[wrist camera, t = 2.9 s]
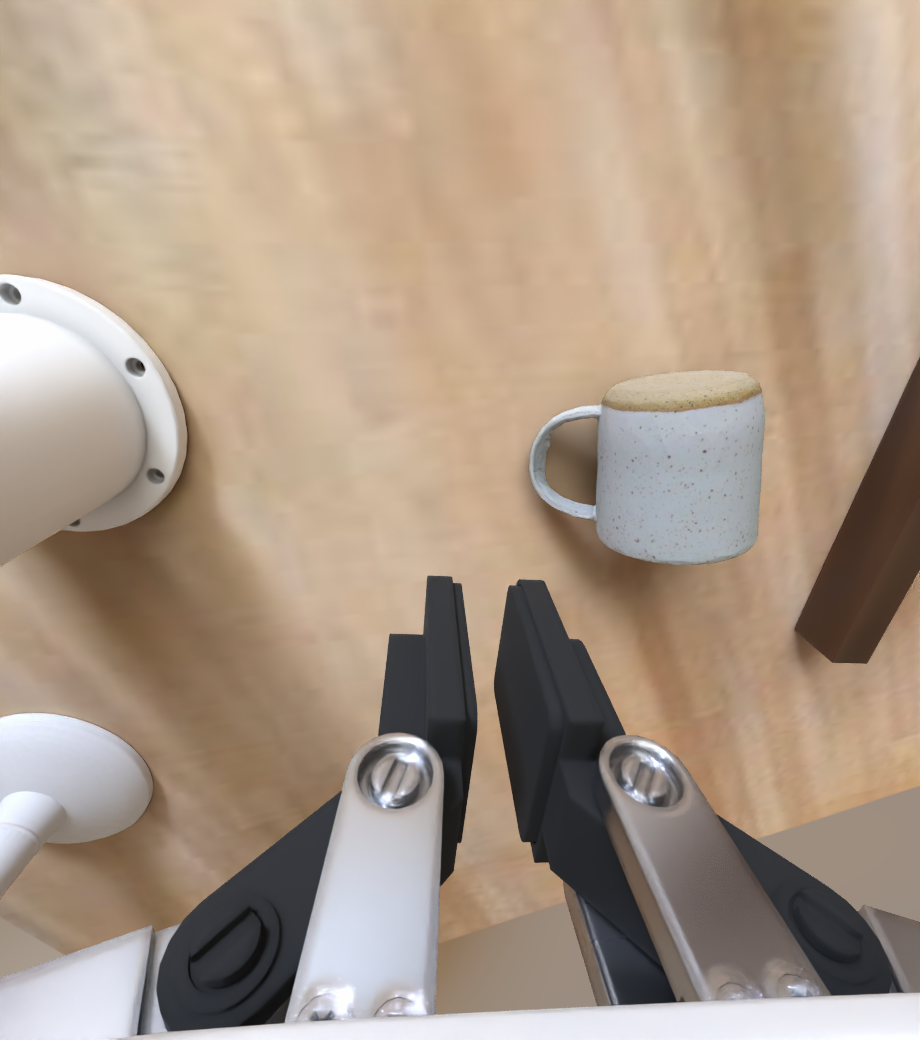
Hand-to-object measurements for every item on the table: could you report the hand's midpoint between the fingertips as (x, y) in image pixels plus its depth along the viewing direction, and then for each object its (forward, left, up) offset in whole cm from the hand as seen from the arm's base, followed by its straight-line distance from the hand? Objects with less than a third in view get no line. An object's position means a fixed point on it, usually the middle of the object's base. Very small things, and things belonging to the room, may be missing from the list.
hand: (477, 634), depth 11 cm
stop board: (+23, +14, -17) cm, 32 cm away
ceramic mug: (+9, +5, -17) cm, 20 cm away
